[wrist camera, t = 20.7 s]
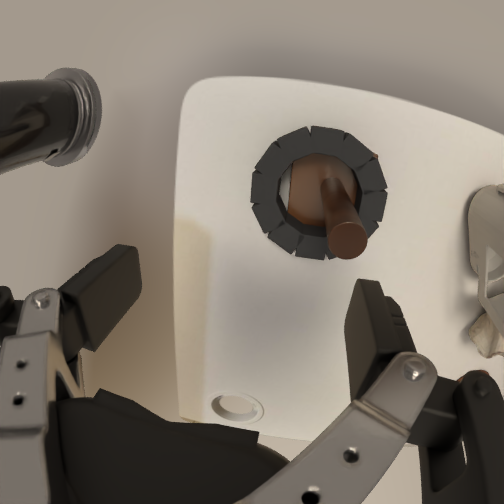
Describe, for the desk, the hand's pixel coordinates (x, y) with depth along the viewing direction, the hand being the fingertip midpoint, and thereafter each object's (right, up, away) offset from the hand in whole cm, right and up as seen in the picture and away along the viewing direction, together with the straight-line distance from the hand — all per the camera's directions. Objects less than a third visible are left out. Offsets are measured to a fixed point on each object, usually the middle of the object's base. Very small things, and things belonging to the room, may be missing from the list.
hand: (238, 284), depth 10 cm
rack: (+7, +7, +15) cm, 18 cm away
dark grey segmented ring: (+6, +6, +14) cm, 16 cm away
